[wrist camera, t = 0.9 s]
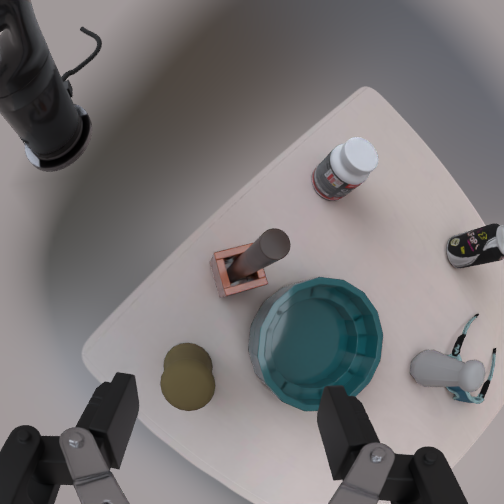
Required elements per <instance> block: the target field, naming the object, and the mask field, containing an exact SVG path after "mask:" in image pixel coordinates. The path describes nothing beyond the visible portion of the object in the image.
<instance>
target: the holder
mask: <svg viewBox="0 0 504 504" xmlns="http://www.w3.org/2000/svg"><path fill="white" fill-rule="evenodd" d="M252 244H253V243H250V244H246V245H242V246H238V247H235V248H231V249H227V250H223V251H219V252H215V253H214V254H213V256H212V258H211V260H210V265H211V269H212V273H213V276H214V280H215V284H216V287H217V291H218V294H219V297H220V298H221V297H225V296H228V295H232V294H235V293H239V292H242V291H246V290H249V289H253V288H256V287H260V286H263V285H267V284H268V282H267V279H266V275H265V272H264V268H263V269H261V270H259V271H257V272H255V273H253V274H251V275H249V276H247V277H245V278H243V279H241V280H239V281H237V282H235V283H231V282H230V281H229V277H228V274H227V270H226V269H227V268H228V267H229V266H230V265H231V264H232V263H233V262H234V261H235V260H237V259H238V258H239V257H240V256H241V255H242V254H243V253H244V252H245V251H246V250H247V249H248V248H249V247H250V246H251V245H252Z"/></svg>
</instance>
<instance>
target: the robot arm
mask: <svg viewBox="0 0 504 504" xmlns="http://www.w3.org/2000/svg"><path fill="white" fill-rule="evenodd" d="M3 30H4V31H3ZM1 31H3V32H2V34H1V35H0V113H1V115H2V116H3V117H4V118H5V119H6V121H7V122H8V123H9V124H10V125H11V127H12V128H13V129H14V130H15V132H16V133H17V134H18V135H19V137H20V138H21V140H23V141H24V142H25V143H26V145H27V146H28V147H29V148H30V149H31V151H32V152H33V154H34V155H35V156H36V157H38V158H39V159H41V160H46V161H50V160H55V159H58V158H60V157H62V156H64V155H65V154H67V153H68V152H69V151H71V150H72V149H73V147H74V146H75V145H76V144H77V142H78V140H79V139H80V136H81V133H82V129H83V123H82V119H81V117H80V115H79V114H78V112H77V110H76V108H75V106H74V104H73V102H72V100H71V97H72V86H71V84H70V82H69V80H67V81H65V80H66V79H67V78H68V77H69V76H71V75H74V74H75V73H77V72H78V71H79V70H81V69H82V68H83V67H84V66H86V65H87V64H88V63H89V62H90V61H91V60H93V59H94V58H95V57H96V56H97V54H98V53H99V51H100V49H101V47H102V41H101V38H100V37H99V36H98V35H97V34H95V33H93V32H91V31H89V30H87V29H86V28H84V27H81V28H80V31H82V32H83V33H85V34H86V35H88V36H91V37H92V38H94V39H95V40H96V42H97V47H96V49H95V51H94V52H93V53H92V54H91V55H90V56H89V57H88V58H87V59H86V60H84V61H83V62H82V63H81V64H79V65H78V66H77V67H76V68H74V69H73V70H70V71H68V72H66V73H65V74H64V75H63V76H62V77H61V76H60V74H59V72H58V69H57V67H56V65H55V63H54V60H53V58H52V56H51V53H50V51H49V49H48V46H47V43H46V42H45V39H44V37H43V35H42V32H41V30H40V27H39V25H38V22H37V20H36V17H35V14H34V11H33V8H32V4H31V0H0V32H1ZM25 143H24V144H25ZM27 146H26V147H27ZM138 411H139V399H138V392H137V386H136V380H135V376H134V375H132V374H125V373H119V372H117V373H116V374H115V376H114V378H113V380H112V382H111V383H110V382H104V383H102V384H101V385H100V386H99V387H97V388H96V390H95V392H94V394H93V396H92V398H91V399H90V401H89V404H88V405H87V407H86V408H85V410H84V412H83V414H82V416H81V418H80V419H79V421H78V423H77V425H76V427H74V428H69V429H67V430H65V431H64V432H63V433H62V434H61V436H41V435H40V433H39V431H38V430H37V429H36V428H34V427H32V426H29V425H23V426H19V427H17V428H15V429H14V430H13V431H12V432H11V434H10V435H9V437H8V439H7V440H6V442H5V444H4V446H3V447H2V449H1V451H0V504H54V503H55V500H56V497H57V494H58V491H59V488H60V485H74V488H75V490H76V492H77V495H78V497H79V499H80V502H81V504H129V502H128V500H127V498H126V497H125V495H124V493H123V492H122V490H121V488H120V486H119V485H118V483H117V481H116V479H115V478H114V476H113V474H112V472H110V468H116V469H120V465H121V462H122V459H123V456H124V453H125V450H126V447H127V444H128V441H129V438H130V436H131V433H132V430H133V427H134V424H135V421H136V418H137V415H138ZM317 423H318V427H319V430H320V434H321V438H322V441H323V445H324V448H325V452H326V455H327V459H328V462H329V466H330V470H331V473H332V477H333V480H343V482H342V483H341V484H340V486H339V487H338V489H337V491H336V492H335V494H334V495H333V497H332V498H331V500H330V501H329V503H328V504H377V502H378V500H386V501H390V502H391V504H468V502H467V500H466V498H465V496H464V495H463V492H462V490H461V488H460V486H459V484H458V482H457V480H456V478H455V476H454V474H453V472H452V470H451V468H450V466H449V464H448V462H447V460H446V458H445V456H444V455H443V453H442V452H441V451H440V450H438V449H436V448H434V447H422V448H420V449H418V450H417V451H416V453H415V454H414V455H404V454H395V453H394V452H393V450H392V449H391V448H390V447H388V446H387V445H385V444H382V443H380V441H379V439H378V437H377V435H376V432H375V430H374V428H373V426H372V424H371V422H370V420H369V417H368V415H367V413H366V412H365V409H364V407H363V405H362V403H361V402H360V401H359V400H358V399H357V398H356V397H355V396H348V395H347V393H346V391H345V388H344V386H343V385H335V386H325V387H324V390H323V394H322V397H321V401H320V405H319V408H318V413H317Z"/></svg>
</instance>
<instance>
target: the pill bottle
mask: <svg viewBox="0 0 504 504" xmlns="http://www.w3.org/2000/svg"><path fill="white" fill-rule="evenodd" d="M377 164H378V154H377V152H376V149H375V148H374V146H373V145H372V144H371V143H370V142H369V141H367V140H365V139H363V138H360V137H353V138H350V139H349V140H348V141H347V142H346V143H344V144H340V145H338V146H336V147H335V148H334V149H333V150H332V151H331V152H330V153H329V154H328V155H327V157H326V158H325V159H324V160H323V161H322V162H321V163H320V164H319V165H318V166H317V167H316V168H315V170H314V172H313V174H312V183H313V186H314V188H315V190H316V192H317V193H318V194H319V195H320V196H322V197H323V198H325V199H328V200H338V199H341V198H342V197H344V196H345V195H347V194H348V193H349V192H351V191H352V190H353V189H355V188H356V187H357V186H359V185H360V184H362V183H363V182H364V181H365V180H366V179H367V178H368V176H369V174H370V172H372V171H373V170H374V169H375V168H376V166H377Z"/></svg>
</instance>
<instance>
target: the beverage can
mask: <svg viewBox="0 0 504 504" xmlns="http://www.w3.org/2000/svg"><path fill="white" fill-rule="evenodd" d="M447 255H448V259H449V261H450V263H451V264H452V265H453V266H454V267H456V268H464V267H470V266H475V265H480V264H485V263H490V262H495V261H500V260H502V259H504V225H498V224H490V225H487V226H484V227H481V228H478V229H474V230H471V231H468V232H465V233H462V234H458V235H455V236H453V237H451V238H450V239H449V241H448V244H447Z"/></svg>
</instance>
